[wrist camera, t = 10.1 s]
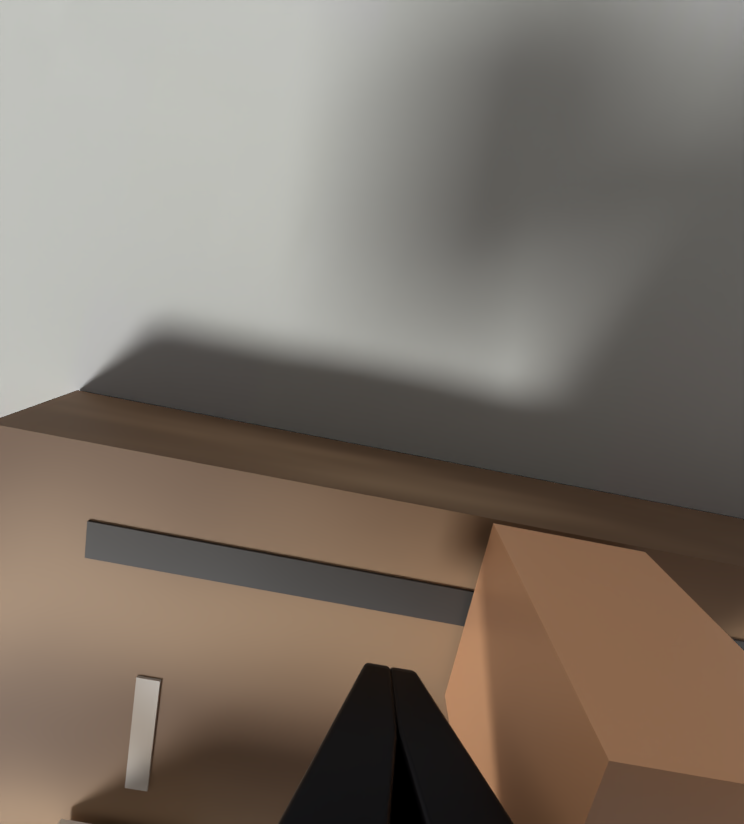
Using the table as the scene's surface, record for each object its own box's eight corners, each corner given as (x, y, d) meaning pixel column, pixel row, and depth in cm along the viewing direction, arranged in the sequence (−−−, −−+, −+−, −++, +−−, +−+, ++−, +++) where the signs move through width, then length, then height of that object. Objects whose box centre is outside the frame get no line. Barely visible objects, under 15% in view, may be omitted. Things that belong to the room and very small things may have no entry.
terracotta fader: (583, 720, 11) (752, 1074, 6) (444, 695, 11) (501, 1037, 6) (644, 552, 10) (904, 811, 5) (493, 523, 10) (608, 759, 5)
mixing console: (742, 913, 16) (823, 1052, 13) (52, 801, 16) (-24, 924, 13) (927, 554, 13) (1085, 632, 10) (77, 390, 12) (-16, 423, 10)
